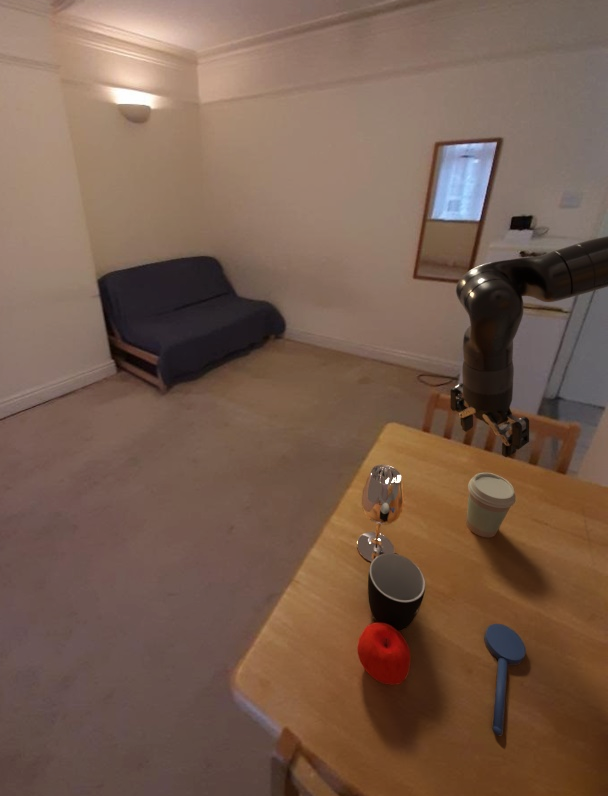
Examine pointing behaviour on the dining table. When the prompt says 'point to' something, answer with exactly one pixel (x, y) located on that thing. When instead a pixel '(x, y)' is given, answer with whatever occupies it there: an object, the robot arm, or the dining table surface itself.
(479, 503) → the coffee cup
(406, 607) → the mug
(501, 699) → the blue spoon
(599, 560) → the dining table surface
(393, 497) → the wineglass
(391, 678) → the apple
